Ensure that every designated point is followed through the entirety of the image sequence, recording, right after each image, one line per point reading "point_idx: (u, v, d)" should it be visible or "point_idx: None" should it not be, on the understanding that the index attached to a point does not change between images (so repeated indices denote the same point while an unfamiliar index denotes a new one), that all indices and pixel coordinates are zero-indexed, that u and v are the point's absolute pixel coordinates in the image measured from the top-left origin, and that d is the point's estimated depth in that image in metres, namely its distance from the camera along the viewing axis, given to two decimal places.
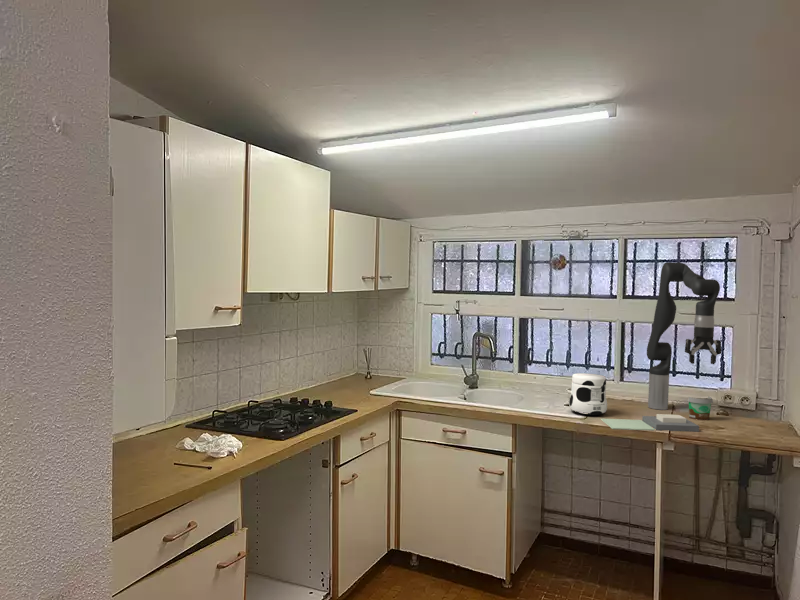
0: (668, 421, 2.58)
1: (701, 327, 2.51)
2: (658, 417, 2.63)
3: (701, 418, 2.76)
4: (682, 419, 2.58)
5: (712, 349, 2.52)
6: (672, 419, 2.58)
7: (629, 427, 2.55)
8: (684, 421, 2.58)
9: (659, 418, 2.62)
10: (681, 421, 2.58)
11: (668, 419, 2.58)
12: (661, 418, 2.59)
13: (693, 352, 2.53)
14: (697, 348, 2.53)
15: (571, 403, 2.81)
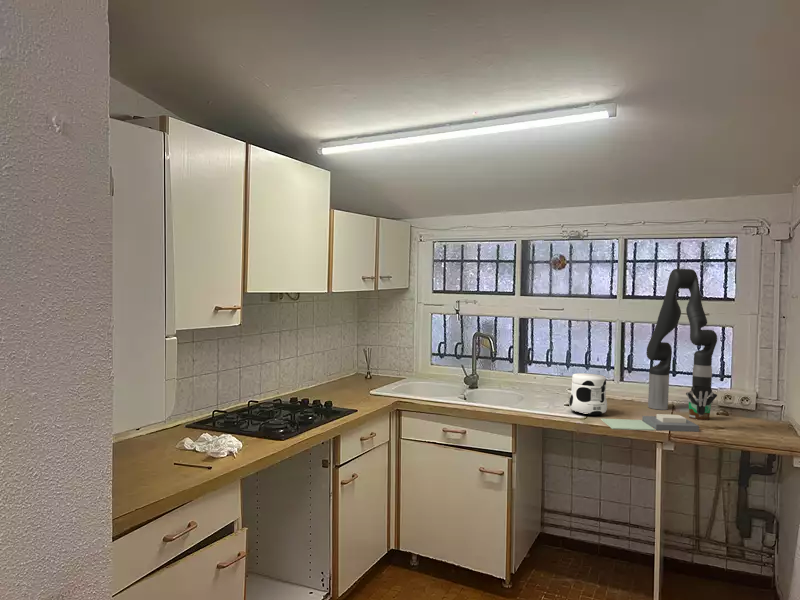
0: (668, 421, 2.58)
1: (699, 377, 2.57)
2: (658, 417, 2.63)
3: (701, 418, 2.76)
4: (682, 419, 2.58)
5: (705, 399, 2.59)
6: (672, 419, 2.58)
7: (629, 427, 2.55)
8: (684, 421, 2.58)
9: (659, 418, 2.62)
10: (681, 421, 2.58)
11: (668, 419, 2.58)
12: (661, 418, 2.59)
13: (701, 404, 2.59)
14: (700, 398, 2.59)
15: (571, 403, 2.81)
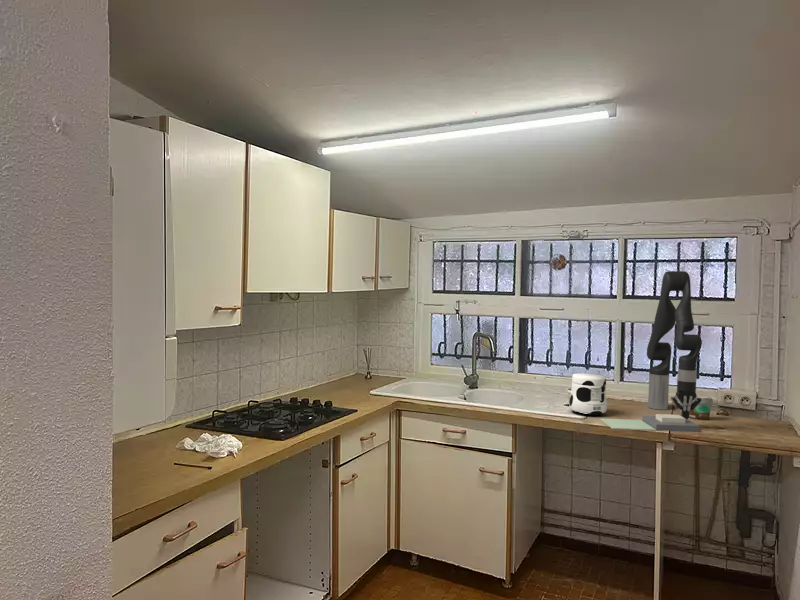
0: (667, 421, 2.58)
1: (684, 381, 2.58)
2: (657, 417, 2.63)
3: (701, 418, 2.76)
4: (681, 419, 2.58)
5: (689, 404, 2.59)
6: (671, 419, 2.58)
7: (629, 427, 2.55)
8: (683, 421, 2.58)
9: (658, 418, 2.62)
10: (680, 421, 2.58)
11: (667, 419, 2.58)
12: (660, 418, 2.60)
13: (685, 408, 2.60)
14: (684, 403, 2.59)
15: (571, 403, 2.81)
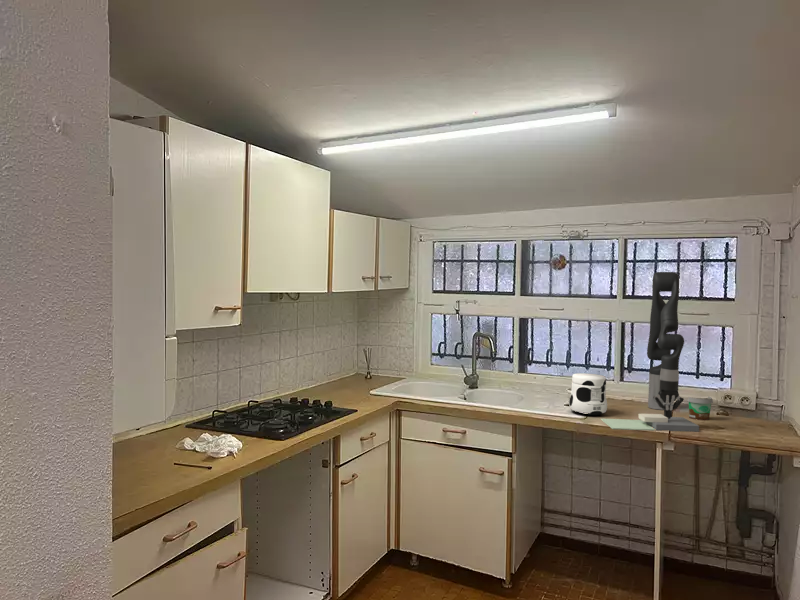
0: (650, 420, 2.58)
1: (666, 381, 2.58)
2: (640, 417, 2.63)
3: (701, 418, 2.76)
4: (664, 418, 2.58)
5: (672, 403, 2.59)
6: (654, 418, 2.58)
7: (629, 427, 2.55)
8: (666, 420, 2.58)
9: (641, 418, 2.62)
10: (663, 420, 2.58)
11: (650, 418, 2.58)
12: (643, 417, 2.60)
13: (667, 407, 2.60)
14: (667, 402, 2.59)
15: (571, 403, 2.81)
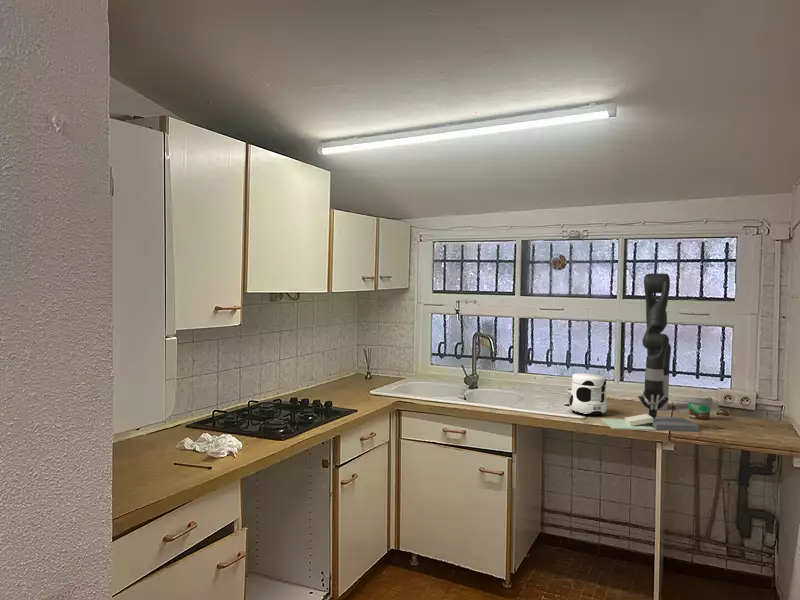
0: (636, 424, 2.58)
1: (651, 380, 2.58)
2: (626, 421, 2.63)
3: (701, 418, 2.76)
4: (649, 419, 2.58)
5: (657, 403, 2.59)
6: (639, 421, 2.58)
7: (629, 427, 2.55)
8: (651, 420, 2.58)
9: (627, 422, 2.62)
10: (648, 421, 2.58)
11: (635, 422, 2.58)
12: (628, 422, 2.60)
13: (652, 407, 2.60)
14: (652, 402, 2.60)
15: (571, 403, 2.81)
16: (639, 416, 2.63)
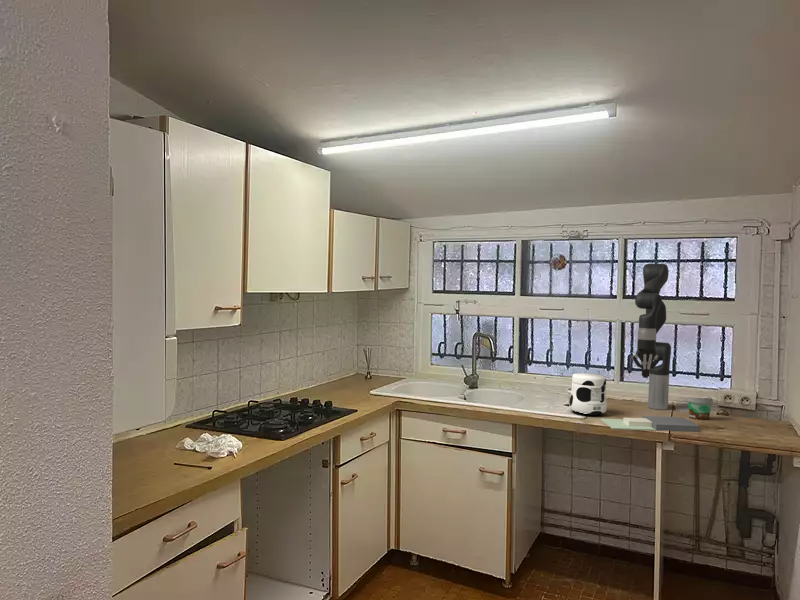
0: (634, 425, 2.58)
1: (643, 340, 2.58)
2: (625, 421, 2.63)
3: (701, 418, 2.76)
4: (648, 423, 2.58)
5: (649, 362, 2.59)
6: (638, 423, 2.58)
7: (629, 427, 2.55)
8: (650, 425, 2.58)
9: (626, 422, 2.62)
10: (647, 425, 2.58)
11: (634, 423, 2.58)
12: (627, 422, 2.60)
13: (645, 367, 2.60)
14: (644, 361, 2.59)
15: (571, 403, 2.81)
16: (638, 419, 2.63)
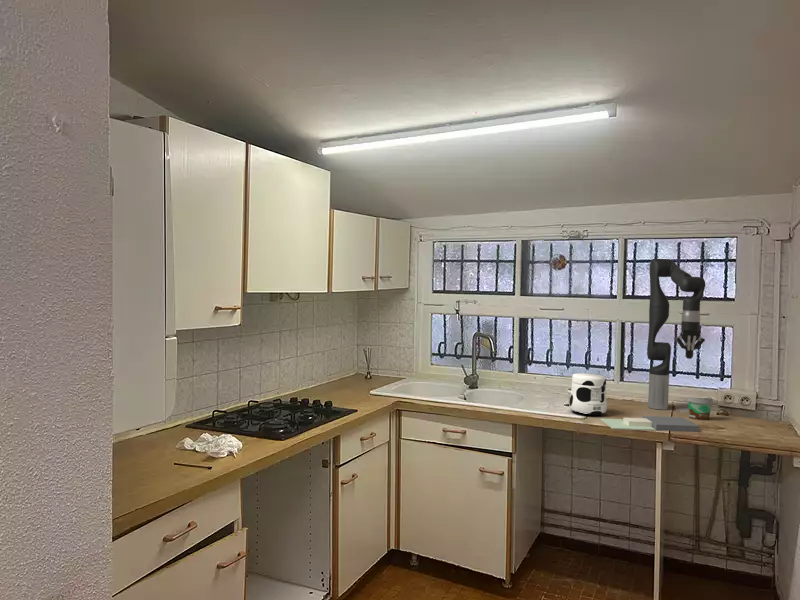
0: (634, 425, 2.58)
1: (688, 321, 2.67)
2: (625, 421, 2.63)
3: (701, 418, 2.76)
4: (648, 423, 2.58)
5: (693, 343, 2.69)
6: (638, 423, 2.58)
7: (629, 427, 2.55)
8: (650, 425, 2.58)
9: (626, 422, 2.62)
10: (647, 425, 2.58)
11: (634, 423, 2.58)
12: (627, 422, 2.60)
13: (689, 348, 2.69)
14: (688, 343, 2.69)
15: (571, 403, 2.81)
16: (638, 419, 2.63)
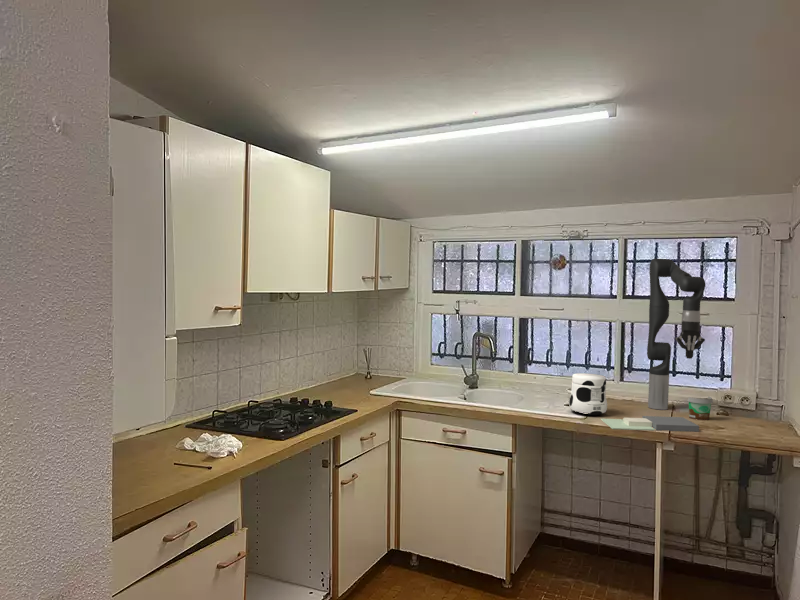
0: (634, 425, 2.58)
1: (688, 321, 2.67)
2: (625, 421, 2.63)
3: (701, 418, 2.76)
4: (648, 423, 2.58)
5: (693, 343, 2.69)
6: (638, 423, 2.58)
7: (629, 427, 2.55)
8: (650, 425, 2.58)
9: (626, 422, 2.62)
10: (647, 425, 2.58)
11: (634, 423, 2.58)
12: (627, 422, 2.60)
13: (689, 348, 2.69)
14: (689, 343, 2.69)
15: (571, 403, 2.81)
16: (638, 419, 2.63)
